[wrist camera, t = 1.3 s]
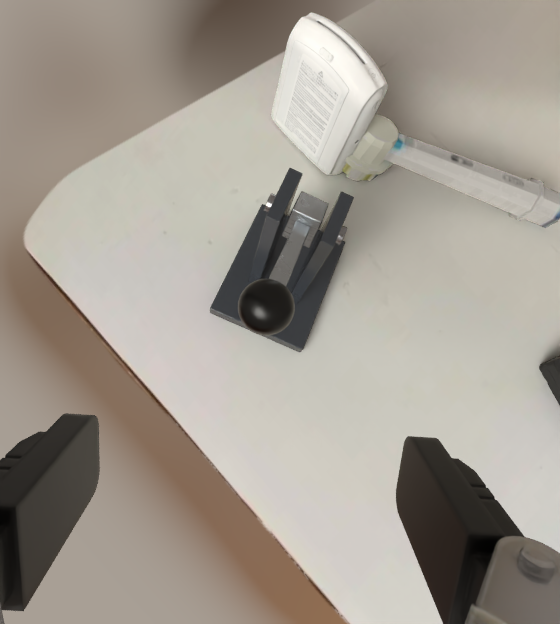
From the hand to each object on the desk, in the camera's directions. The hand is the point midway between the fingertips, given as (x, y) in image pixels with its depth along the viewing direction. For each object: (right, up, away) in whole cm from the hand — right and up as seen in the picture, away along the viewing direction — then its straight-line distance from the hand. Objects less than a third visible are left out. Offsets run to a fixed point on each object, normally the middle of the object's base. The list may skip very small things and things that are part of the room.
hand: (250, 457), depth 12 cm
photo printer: (+4, +22, +37) cm, 43 cm away
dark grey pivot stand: (+1, +7, +31) cm, 32 cm away
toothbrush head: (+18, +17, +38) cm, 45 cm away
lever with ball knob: (+1, +6, +18) cm, 19 cm away
